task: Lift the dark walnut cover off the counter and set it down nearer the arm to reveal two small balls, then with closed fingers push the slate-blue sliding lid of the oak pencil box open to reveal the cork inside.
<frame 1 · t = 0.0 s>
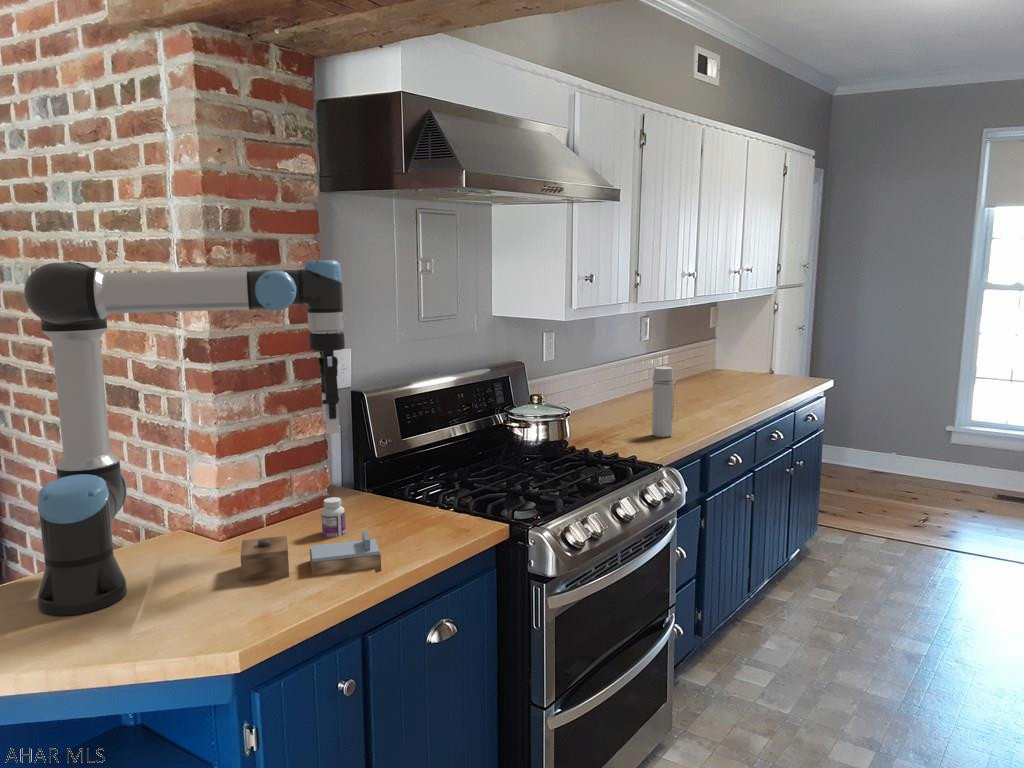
hand: (331, 427, 176), 28 cm above the worktop, fingers open, 13 cm apart
ball grey: (273, 567, 165), point 1 cm above the worktop
pill bottle: (334, 540, 185), on the worktop
pencil box: (345, 570, 167), on the worktop
cork: (362, 565, 168), point 1 cm above the worktop, touching pencil box
cover: (266, 577, 163), on the worktop
water bottle: (664, 436, 289), on the worktop
ball terracotta: (258, 574, 161), point 1 cm above the worktop
sliding lid: (344, 544, 166), point 6 cm above the worktop, slide at 0.0 cm
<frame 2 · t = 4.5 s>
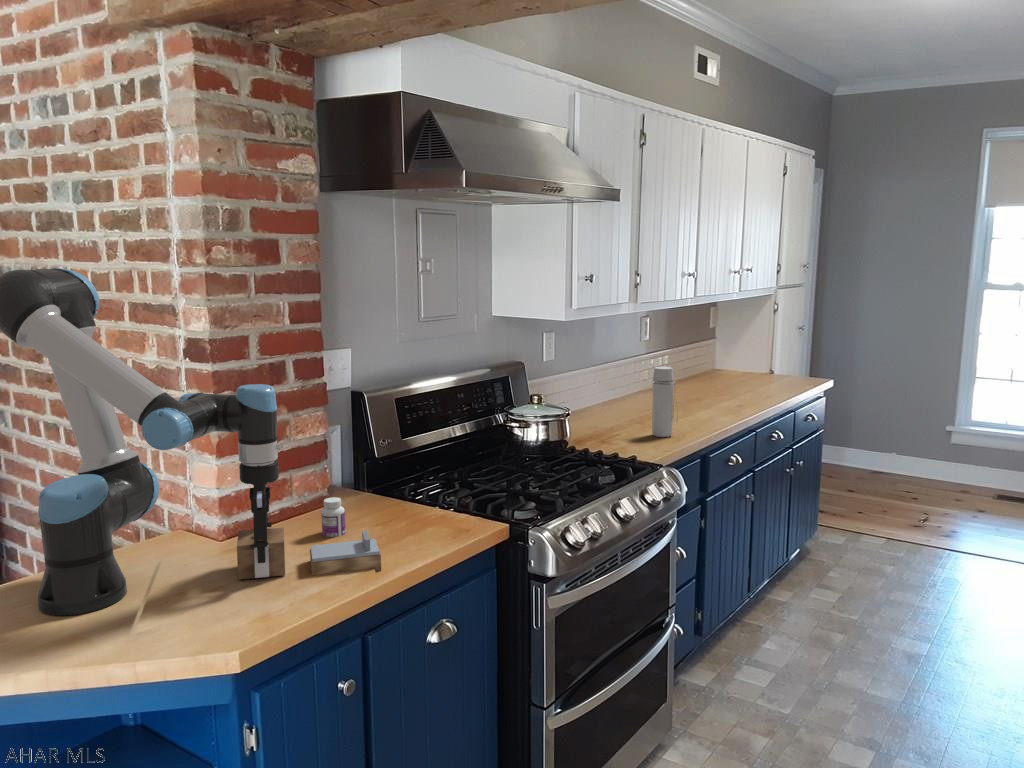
hand: (262, 567, 163), 2 cm above the worktop, fingers closed on cover, 9 cm apart
ball grey: (270, 567, 165), point 1 cm above the worktop, tilted 24°
cover: (262, 568, 163), point 2 cm above the worktop, touching gripper
everything else where it was.
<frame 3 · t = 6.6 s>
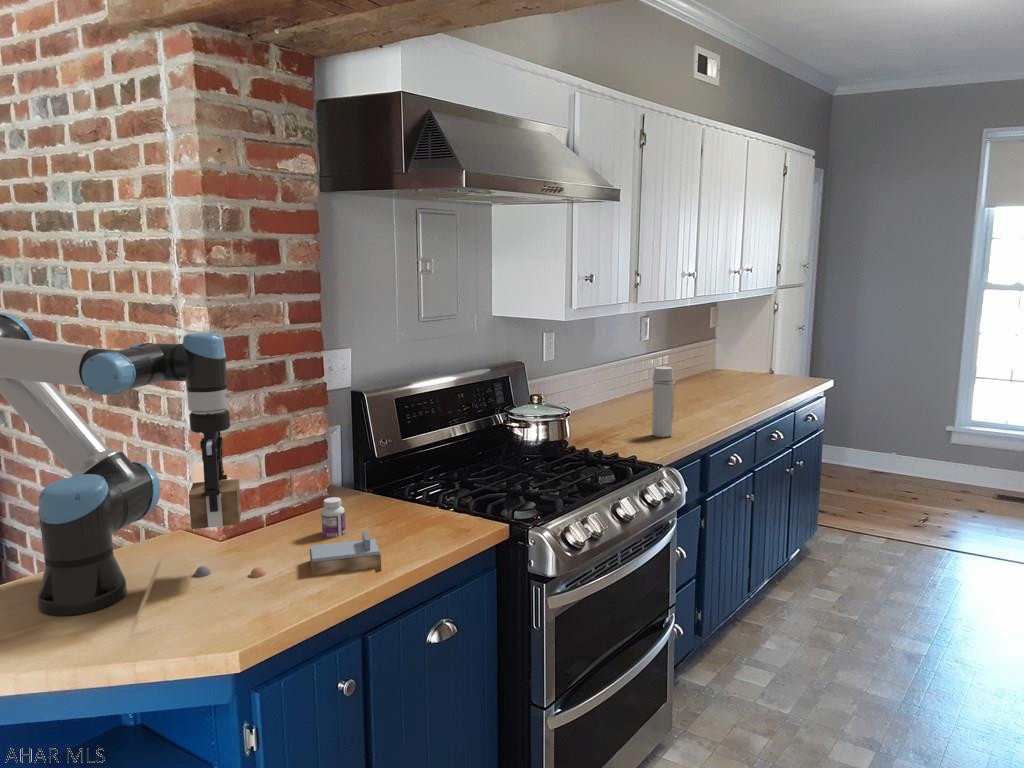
hand: (217, 518, 162), 13 cm above the worktop, fingers closed on cover, 9 cm apart
ball grey: (202, 573, 162), point 1 cm above the worktop, tilted 175°
cover: (217, 519, 162), point 12 cm above the worktop, touching gripper
everything else where it was.
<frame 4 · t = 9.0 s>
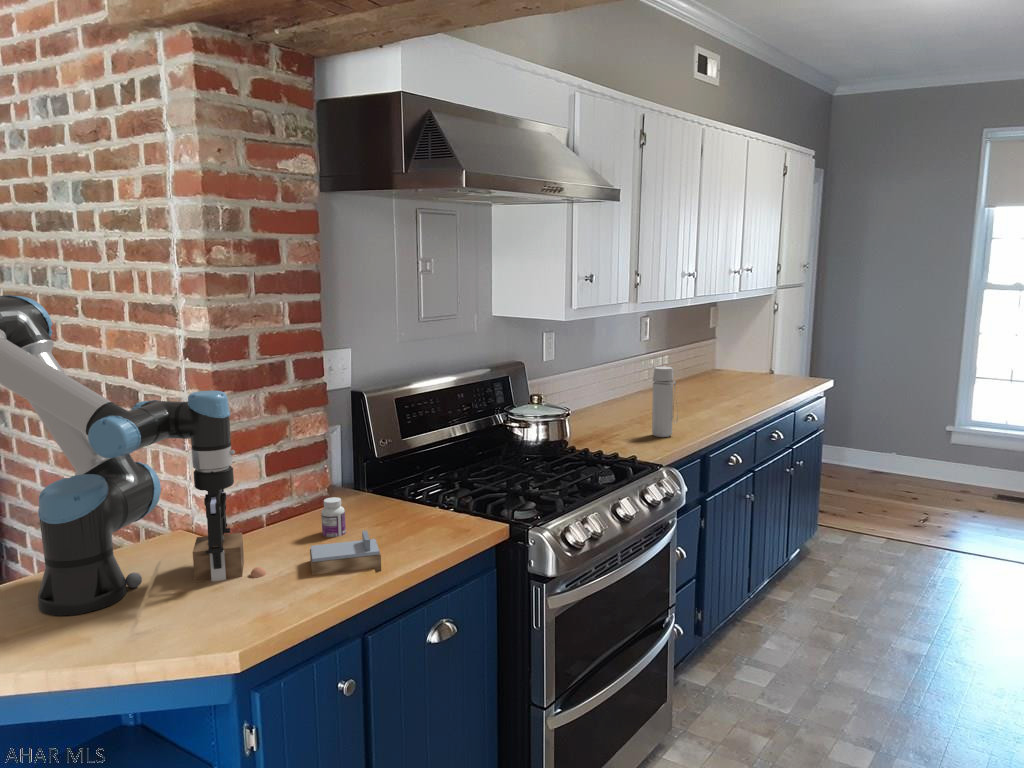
hand: (220, 573, 164), 1 cm above the worktop, fingers closed on cover, 9 cm apart
ball grey: (133, 580, 159), point 1 cm above the worktop, tilted 41°
cover: (220, 574, 164), point 1 cm above the worktop, touching gripper
everything else where it was.
when the fingers open (1 cm above the worktop, at t = 9.0 s): cover stays where it is, on the worktop.
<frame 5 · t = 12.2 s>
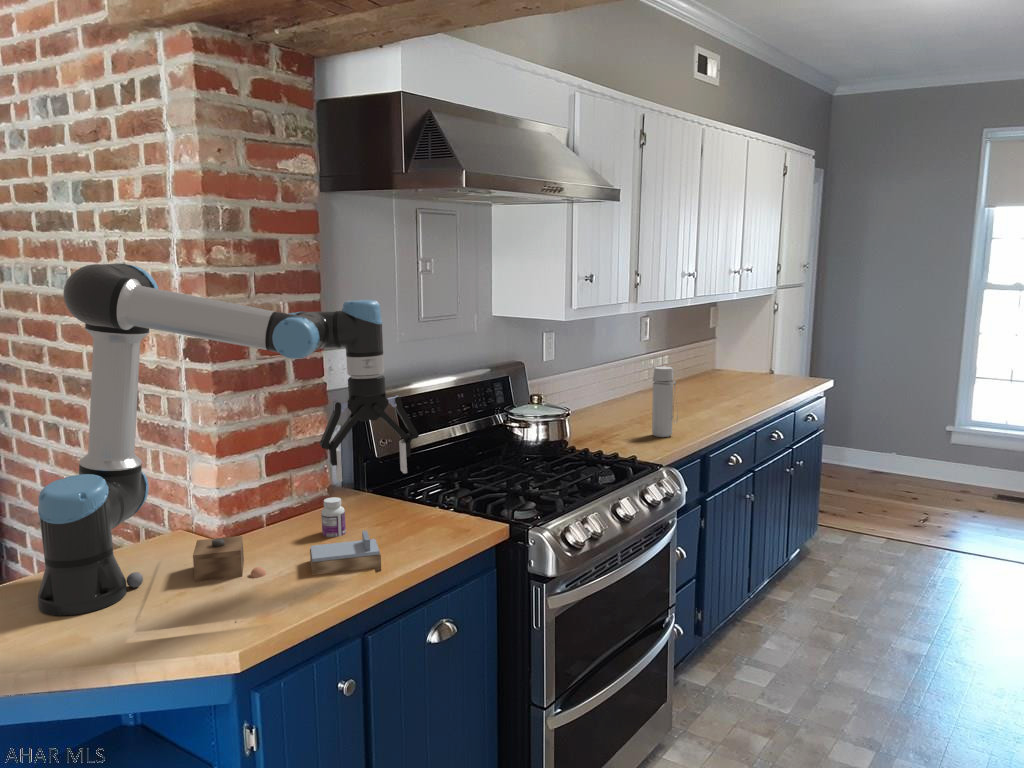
hand: (372, 476, 166), 20 cm above the worktop, fingers open, 13 cm apart
ball grey: (134, 579, 159), point 1 cm above the worktop, tilted 49°
cover: (220, 577, 164), on the worktop
everything else where it was.
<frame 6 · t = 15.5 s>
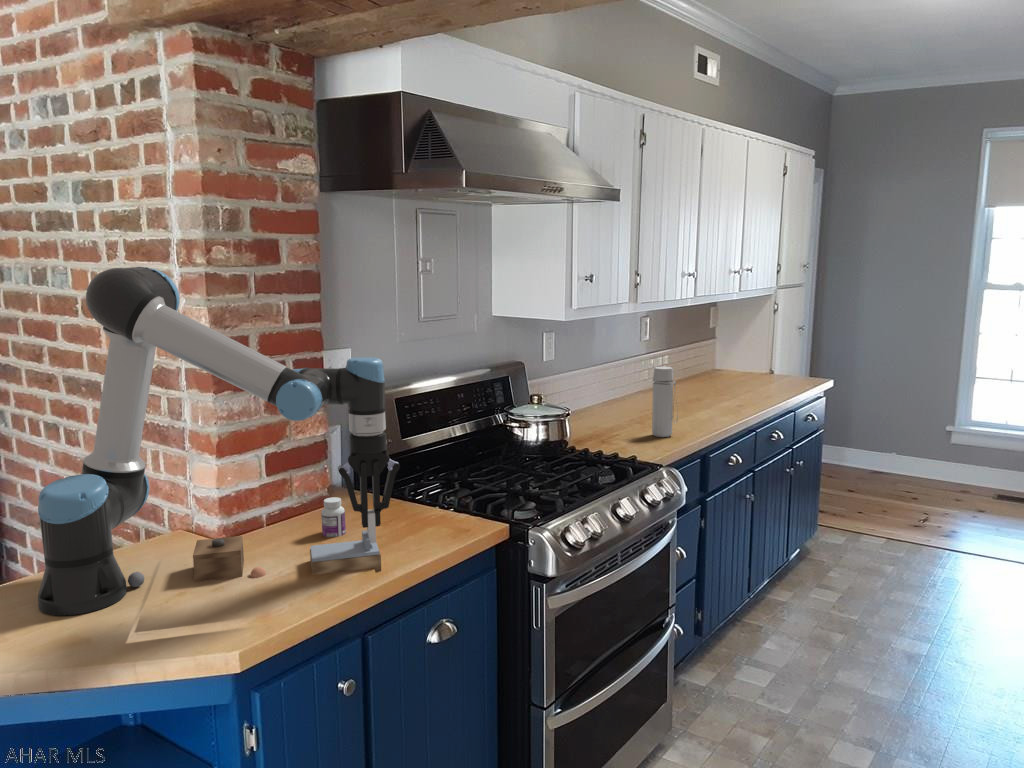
hand: (371, 541, 168), 6 cm above the worktop, fingers closed
ball grey: (136, 579, 159), point 1 cm above the worktop, tilted 58°
sliding lid: (344, 544, 166), point 6 cm above the worktop, slide at 0.0 cm, touching gripper
everything else where it was.
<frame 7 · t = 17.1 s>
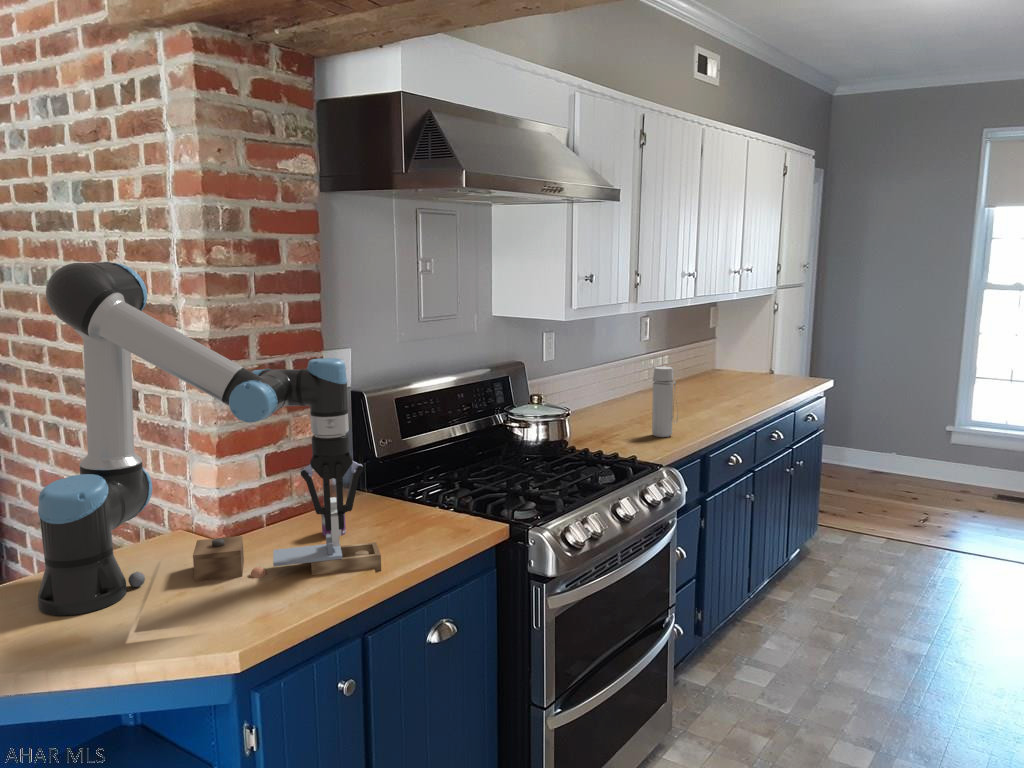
hand: (335, 544, 165), 6 cm above the worktop, fingers closed
sliding lid: (307, 548, 164), point 6 cm above the worktop, slide at 7.6 cm, touching gripper
everything else where it was.
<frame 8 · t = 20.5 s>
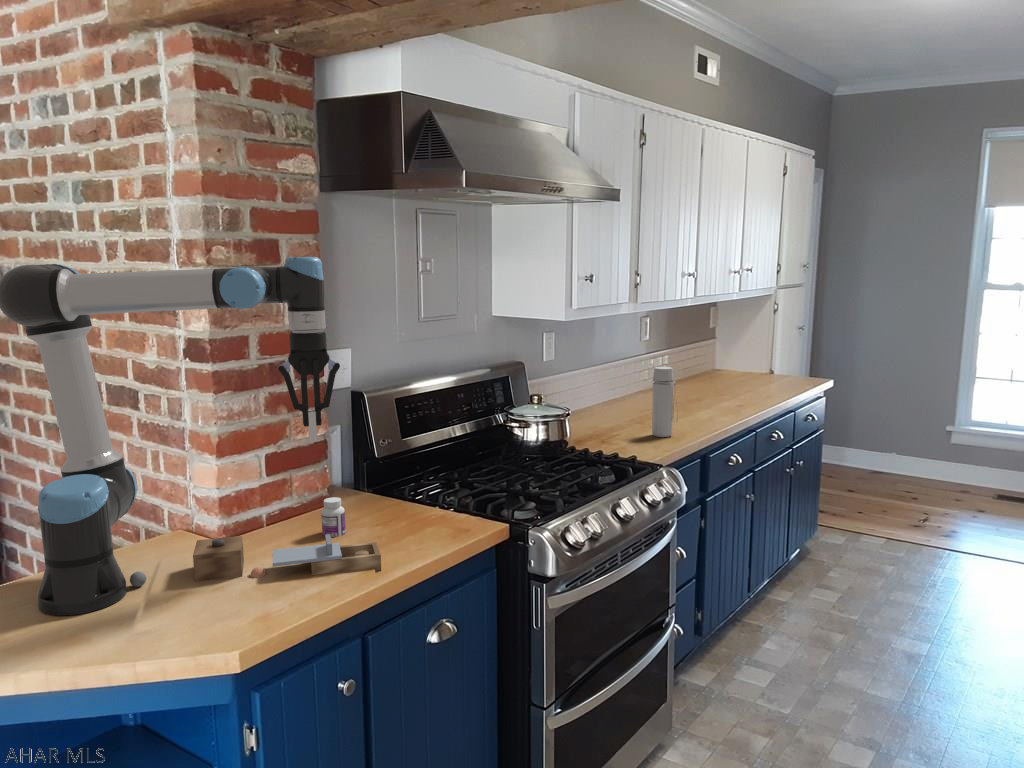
hand: (313, 440, 170), 26 cm above the worktop, fingers closed
ball grey: (138, 579, 160), point 1 cm above the worktop, tilted 71°
sliding lid: (306, 548, 164), point 6 cm above the worktop, slide at 7.7 cm
everything else where it was.
at the end: cover inside the target area (0.1 cm from its centre), on the worktop; sliding lid slide at 7.7 cm; the gripper is holding nothing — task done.
